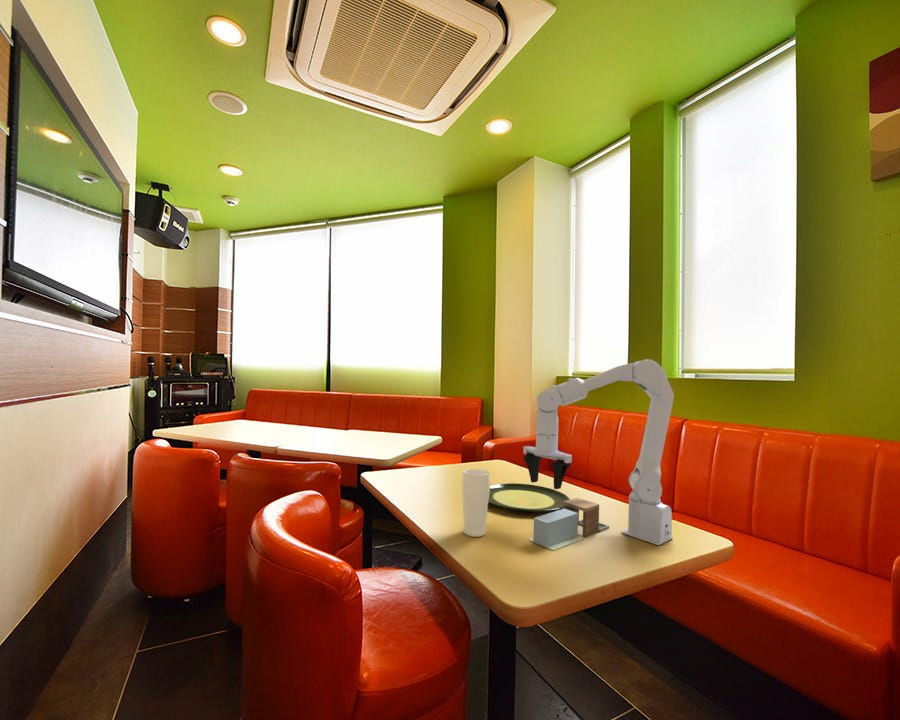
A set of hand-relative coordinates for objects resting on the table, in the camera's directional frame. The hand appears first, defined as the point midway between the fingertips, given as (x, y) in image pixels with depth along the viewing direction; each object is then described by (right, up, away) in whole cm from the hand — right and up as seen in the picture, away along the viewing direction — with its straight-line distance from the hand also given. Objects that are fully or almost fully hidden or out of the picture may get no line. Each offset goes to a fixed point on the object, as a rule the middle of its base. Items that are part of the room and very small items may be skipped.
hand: (545, 485), depth 112 cm
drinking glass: (-20, -9, -10) cm, 24 cm away
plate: (-3, -11, +17) cm, 20 cm away
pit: (+12, -10, -2) cm, 16 cm away
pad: (0, -10, -12) cm, 15 cm away
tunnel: (+8, -10, -5) cm, 14 cm away
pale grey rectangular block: (0, -10, -12) cm, 15 cm away
